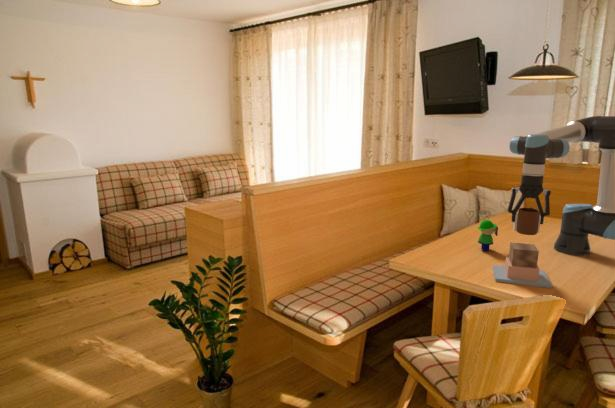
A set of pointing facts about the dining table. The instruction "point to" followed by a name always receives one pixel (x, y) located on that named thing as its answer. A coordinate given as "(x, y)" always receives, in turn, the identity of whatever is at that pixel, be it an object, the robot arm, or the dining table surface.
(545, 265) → the dining table surface
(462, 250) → the dining table surface
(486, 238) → the toy
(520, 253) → the walnut block
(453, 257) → the dining table surface
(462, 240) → the dining table surface
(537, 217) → the mug
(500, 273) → the plate
